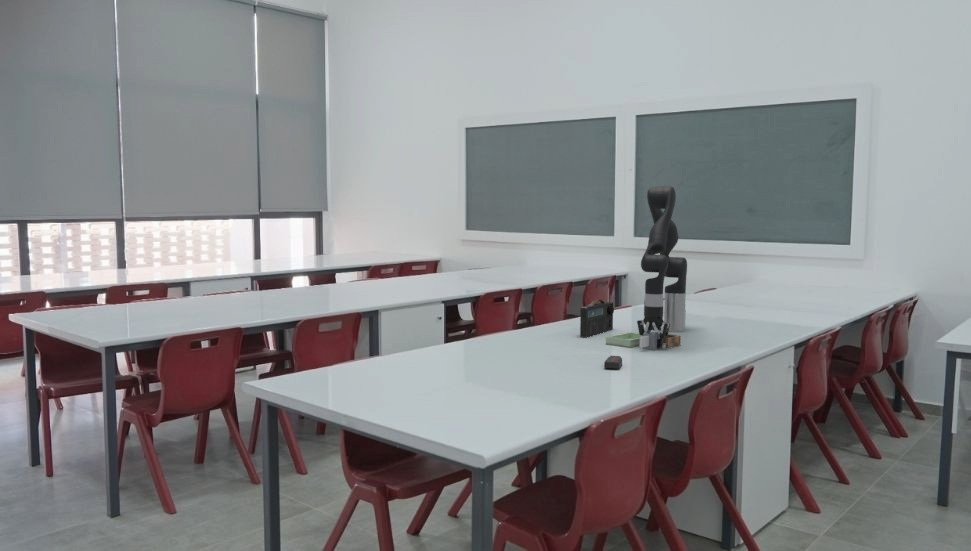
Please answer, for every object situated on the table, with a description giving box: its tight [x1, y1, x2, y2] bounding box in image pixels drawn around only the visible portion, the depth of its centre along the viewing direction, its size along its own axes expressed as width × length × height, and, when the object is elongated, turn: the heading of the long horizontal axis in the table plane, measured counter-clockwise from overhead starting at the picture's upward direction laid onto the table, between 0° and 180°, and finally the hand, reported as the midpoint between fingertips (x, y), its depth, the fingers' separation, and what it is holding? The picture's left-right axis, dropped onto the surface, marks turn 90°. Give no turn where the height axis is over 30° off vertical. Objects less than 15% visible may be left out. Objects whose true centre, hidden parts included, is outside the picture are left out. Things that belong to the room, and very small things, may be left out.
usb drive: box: [603, 355, 623, 370], centre depth 282 cm, size 5×12×3 cm, turn 163°
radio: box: [579, 286, 615, 339], centre depth 351 cm, size 25×4×20 cm, turn 145°
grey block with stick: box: [639, 331, 664, 351], centre depth 313 cm, size 12×5×6 cm, turn 137°
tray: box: [605, 331, 643, 349], centre depth 326 cm, size 18×12×3 cm, turn 137°
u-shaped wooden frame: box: [663, 333, 682, 349], centre depth 321 cm, size 10×10×4 cm
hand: (652, 347), depth 315 cm, fingers closed on grey block with stick, 5 cm apart
